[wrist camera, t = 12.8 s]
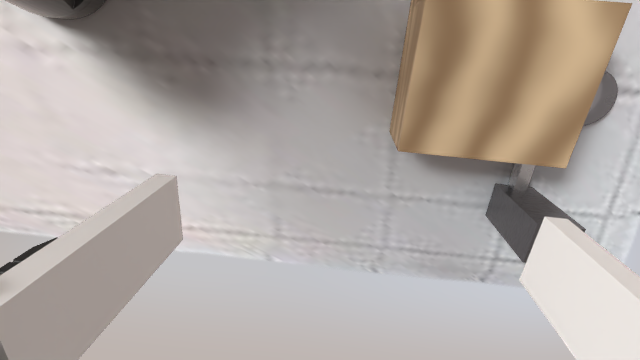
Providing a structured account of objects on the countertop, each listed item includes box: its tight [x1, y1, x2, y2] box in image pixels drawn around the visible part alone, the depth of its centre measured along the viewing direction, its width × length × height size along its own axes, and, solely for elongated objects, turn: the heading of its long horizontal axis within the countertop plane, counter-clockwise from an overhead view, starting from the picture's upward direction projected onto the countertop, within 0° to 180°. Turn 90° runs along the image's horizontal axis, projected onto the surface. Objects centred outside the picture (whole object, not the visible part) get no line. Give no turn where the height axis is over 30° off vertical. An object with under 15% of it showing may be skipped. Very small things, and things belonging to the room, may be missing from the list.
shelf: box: [389, 0, 632, 168], centre depth 32 cm, size 16×14×8 cm
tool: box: [486, 163, 586, 262], centre depth 33 cm, size 4×20×10 cm, turn 176°
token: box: [583, 71, 618, 126], centre depth 35 cm, size 6×6×1 cm
